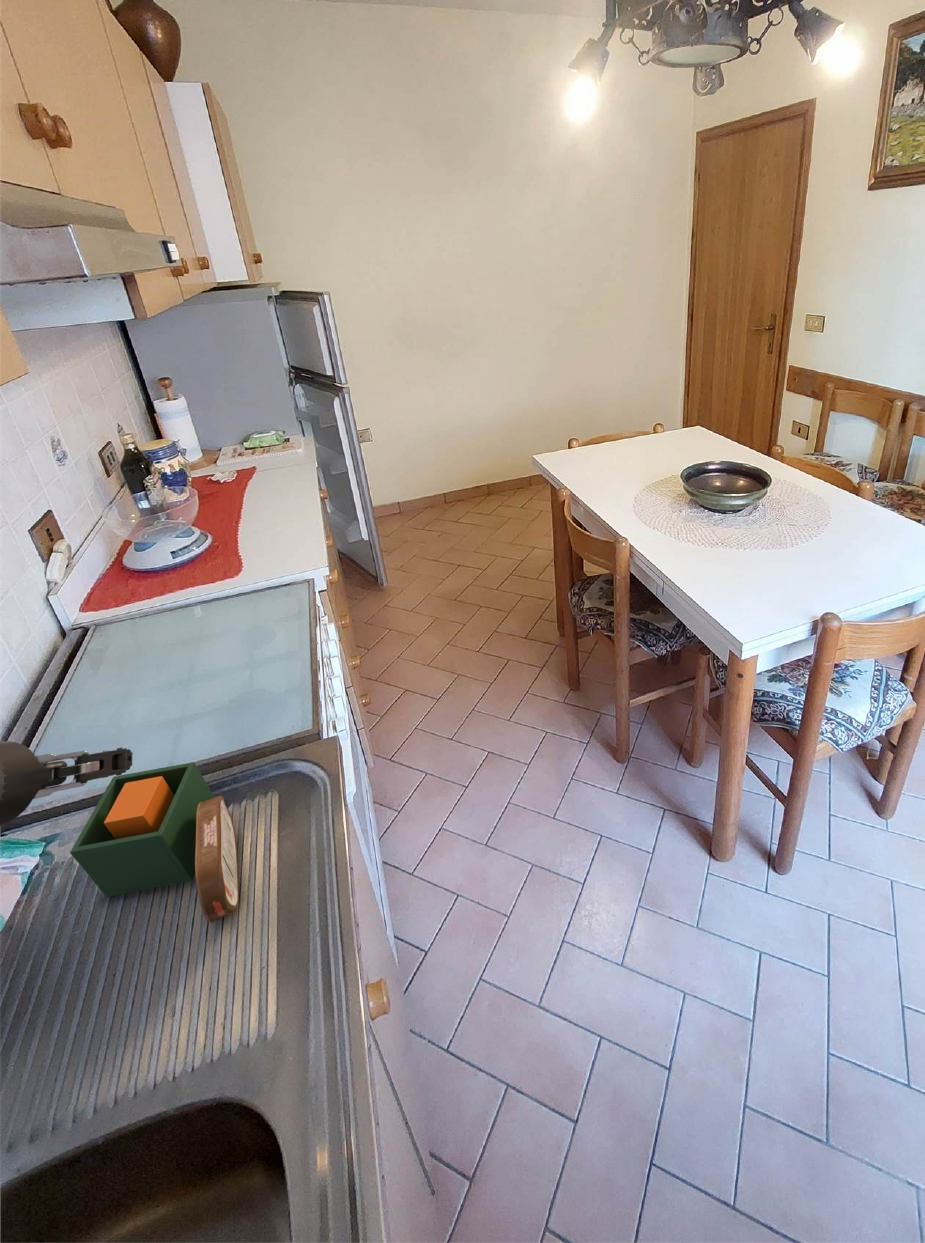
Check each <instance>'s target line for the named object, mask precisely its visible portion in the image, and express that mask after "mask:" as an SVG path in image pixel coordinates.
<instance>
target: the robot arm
mask: <svg viewBox="0 0 925 1243" xmlns="http://www.w3.org/2000/svg"><path fill="white" fill-rule="evenodd" d="M68 759H72V760H73V761H74V764H73V765H68V763H67V762H66V761H65V760H68ZM132 766H133V751H131V749H129V748H127V747H126V748H125V747H124V748H123V747H117V748H116V749H113V750H110V749H105V750H103V751H101V752H95V753H89V752H88V751H87V750H80V751H74V752H73V751H72V752H67V753H62V754H55V753H45V754H41V755H39V754H38V755H35V753H34V752H33V751H32V749H30V748H29V747H27V746H26V745H24V744H22V743H20V742H15V741H9V740H8V741H7V740H5V741H0V827H3V826H5V825H7V824H9V823H11V822H12V821H14V820H16V819H17V818H18V817H19V816H20V815H22V814H23V812H24V811H25V810H27V809H28V807H29V806H30V805H31V803H32V801H33V800H35V799H40V798H45V797H48V796H51V795H52V794H53V793H55V792H60V791H61V792H62V791H65V790H69V789H75V788H80V787H83V786H85V785H87V783H88V782H89V781H93V780H99V779H106V778H109V777H112V776H120V775H123V774H124V773H125V774H126V773H127V771H129V770H130V769H131V767H132ZM72 776H73V779H72V781H70V782H68V783H64V782H65V781H66V780H67V778H68V777H72Z"/></svg>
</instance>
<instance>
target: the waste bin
mask: <svg viewBox="0 0 925 1243" xmlns="http://www.w3.org/2000/svg"><path fill="white" fill-rule="evenodd" d="M160 776H162V777H163V778H164V780H165V781H166V783H167V785H168V786H169V788H170V789H171V791H172V793H173V794H174V798H173V800H172V802H171V805H170V807H169V809H168V811H167V813H166V816H165V818H164V820H163V822H162V824H161V827H160V829H159V831H158V832H153V833H147V834H142V835H137V836H132V837H126V838H121V839H115V838H114V836H113V835H112V834H111V832H110V831H109V830H108V828H107V827H106V826H105V824H104V822H105V820H106V818H107V816H108V814H109V812H110V810H111V809H112V807H113V805H114V803H115V801H116V799H117V797H118V796H119V794H120V792H121V790H122V788H123V786H124V784H125V783H128V782H133V781H139V780H144V779H149V778H154V777H160ZM212 798H215V796H214V794H213V792H212V791H211V789H210V787H209V786H208V784H207V781H206V780H205V779H204V777H203V775H202V774H201V772H200V770H199V768H198V766H197V765H196V763H195V762H194V761H192V762H187V763H186V762H185V763H181V764H176V765H169V766H165V767H158V768H154V769H153V768H152V769H148V770H141V771H136V772H131V773H127V774H126V773H125V774H122V775H118V776H116V775H113V777H112V778H111V780H110V782H109V784H108V785H107V787H106V788H105V791H104V792H103V794H102V796H101V798H100V799H99V801H98V803H97V804H96V806H95V808H94V809H93V811H92V813H91V814H90V816H89V818H88V820H87V822H86V823H85V825H84V827H83V829H82V830H81V832H80V834H79V835H78V837H77V839H76V840H75V842H74V844H73V846H72V847H71V849H70V850H69V854H70V855H71V856H72V857H73V859H74V860H75V861H76V862H77V863H78V864H79V866H80V867H81V868H82V869H83V871H84V872H85V873H86V874H87V875H88V877H89V878H90V879H91V880H92V881H93V883H94V884H95V885H96V886H97V887H98V889H99V890H100V891H101V892H102V893H103V895H104V896H105V897H106V898H112V897H115V896H116V897H117V896H121V895H125V894H131V893H137V892H140V891H147V890H150V889H156V888H160V887H166V886H170V885H176V884H180V883H181V884H182V883H185V882H191V881H193V879H194V877H195V875H196V874H195V849H196V813H197V806H198V804H199V803H200V802H204V801H207V800H210V799H212Z"/></svg>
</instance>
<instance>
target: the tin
mask: <svg viewBox="0 0 925 1243" xmlns="http://www.w3.org/2000/svg"><path fill="white" fill-rule="evenodd" d="M224 798H225V797H224V796H222V795H219V796H214V798H212V799H210V800H207V801H204V802H200V803H199V804H198V806H197V813H196V849H195V874H194V875H195V882H196V888H197V894H198V899H199V902H200V906H201V909H202V912H203V915H204V917H205V919H206V920H207V921H208V922H209V924H213V923H215V922H216V921H218V920H220V919H222V918H225V917H227V916H229V915H231V914H232V913H234V912H235V911H236V910H237V908H238V905H239V870H238V869H239V866H238V847H237V846H238V845H237V837H236V831H235V830H236V829H235V825H234V820H233V817H232V815H231V813H230V811H229V809H228V806H227V804H226V802H225V799H224Z"/></svg>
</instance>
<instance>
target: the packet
mask: <svg viewBox="0 0 925 1243" xmlns="http://www.w3.org/2000/svg"><path fill="white" fill-rule="evenodd" d="M173 798H174V794H173V793H172V791H171V789H170V788H169V786H168V785H167V783H166V781H165V780H164V778H163V777H162V776H160V777H154V778H149V779H144V780H139V781H133V782H128V783H125V784H124V786H123V788H122V790H121V792H120V794H119V796H118V797H117V799H116V801H115V803H114V805H113V807H112V809H111V810H110V812H109V814H108V816H107V818H106V820H105V822H104V824H105V826H106V827H107V828H108V830H109V831H110V832H111V834H112V835H113V836H114V838H115V839H121V838H126V837H132V836H137V835H142V834H147V833H153V832H158V831H159V829H160V827H161V824H162V822H163V820H164V818H165V816H166V813H167V811H168V809H169V807H170V805H171V802H172V800H173Z"/></svg>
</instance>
